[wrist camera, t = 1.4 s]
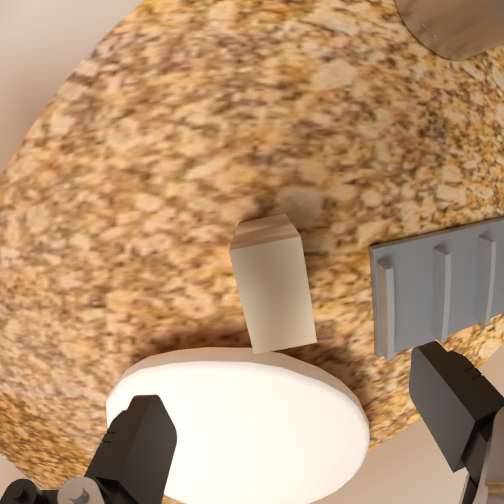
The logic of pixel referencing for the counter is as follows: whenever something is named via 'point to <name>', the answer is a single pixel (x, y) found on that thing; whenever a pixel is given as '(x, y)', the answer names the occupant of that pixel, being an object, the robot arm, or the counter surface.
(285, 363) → the plate
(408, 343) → the rack
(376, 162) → the counter surface
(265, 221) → the block
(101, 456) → the robot arm
